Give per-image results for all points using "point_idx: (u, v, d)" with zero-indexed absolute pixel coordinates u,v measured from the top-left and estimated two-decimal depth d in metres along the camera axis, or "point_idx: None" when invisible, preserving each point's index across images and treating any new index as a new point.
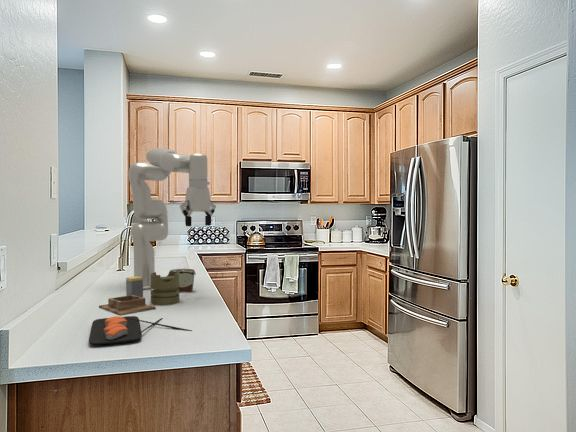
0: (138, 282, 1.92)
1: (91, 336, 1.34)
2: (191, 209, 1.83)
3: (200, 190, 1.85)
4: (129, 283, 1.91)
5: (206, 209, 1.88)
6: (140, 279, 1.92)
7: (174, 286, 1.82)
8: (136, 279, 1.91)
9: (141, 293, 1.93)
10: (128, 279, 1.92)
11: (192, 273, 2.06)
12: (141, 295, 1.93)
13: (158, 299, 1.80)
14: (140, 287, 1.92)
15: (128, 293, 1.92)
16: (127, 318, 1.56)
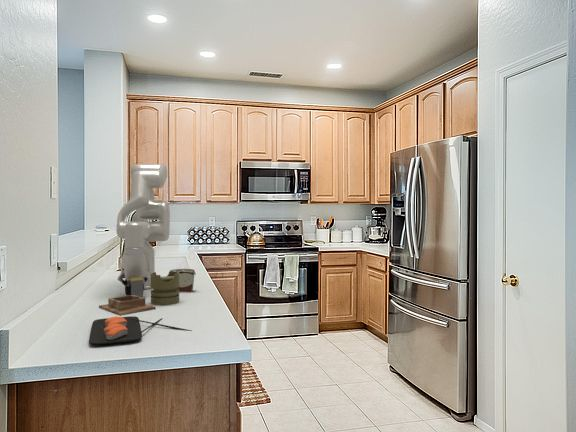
0: (138, 282, 1.92)
1: (91, 336, 1.34)
2: (126, 277, 1.88)
3: (135, 258, 1.90)
4: None
5: (142, 275, 1.93)
6: (140, 279, 1.92)
7: (174, 286, 1.82)
8: (136, 279, 1.91)
9: (141, 293, 1.93)
10: None
11: (192, 273, 2.06)
12: (141, 295, 1.93)
13: (158, 299, 1.80)
14: (140, 287, 1.92)
15: None
16: (127, 318, 1.56)
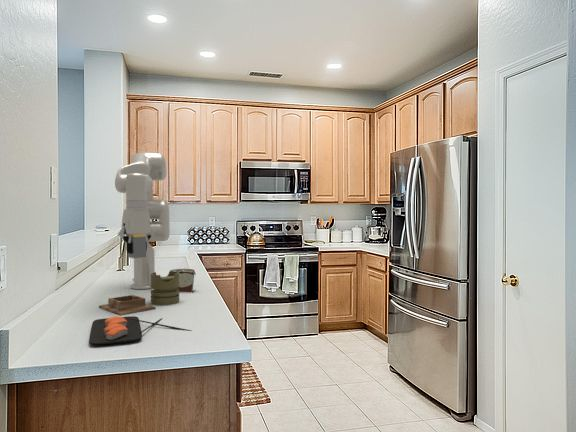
0: (141, 238, 1.74)
1: (91, 336, 1.34)
2: (127, 233, 1.71)
3: (137, 212, 1.73)
4: None
5: (145, 232, 1.75)
6: (143, 235, 1.74)
7: (174, 286, 1.82)
8: (139, 235, 1.73)
9: (144, 251, 1.75)
10: None
11: (192, 273, 2.06)
12: (144, 253, 1.75)
13: (158, 299, 1.80)
14: (143, 244, 1.74)
15: None
16: (127, 318, 1.56)
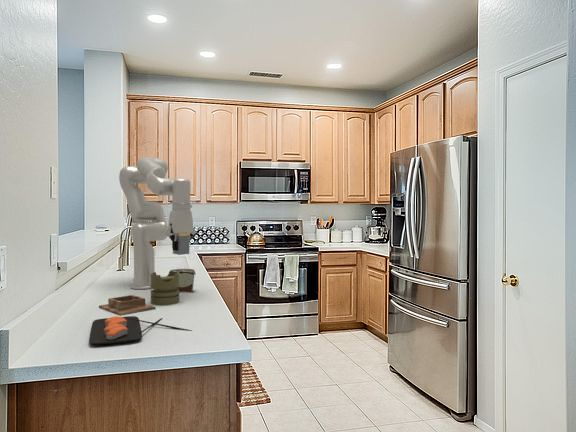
0: (186, 237, 1.94)
1: (91, 336, 1.34)
2: (174, 232, 1.91)
3: (183, 213, 1.93)
4: None
5: (188, 231, 1.96)
6: (187, 234, 1.94)
7: (174, 286, 1.82)
8: (184, 234, 1.93)
9: (188, 248, 1.95)
10: None
11: (192, 273, 2.06)
12: (188, 250, 1.95)
13: (158, 299, 1.80)
14: (187, 242, 1.95)
15: None
16: (127, 318, 1.56)
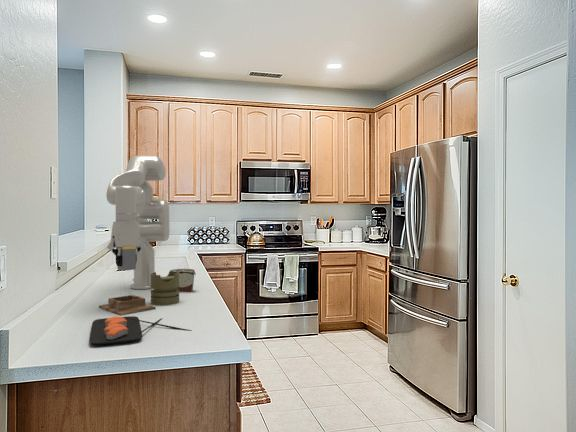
0: (131, 250, 1.73)
1: (91, 336, 1.34)
2: (116, 245, 1.70)
3: (127, 224, 1.72)
4: None
5: (135, 244, 1.75)
6: (133, 248, 1.73)
7: (174, 286, 1.82)
8: (128, 247, 1.72)
9: (134, 263, 1.74)
10: None
11: (192, 273, 2.06)
12: (134, 265, 1.74)
13: (158, 299, 1.80)
14: (133, 256, 1.73)
15: None
16: (127, 318, 1.56)
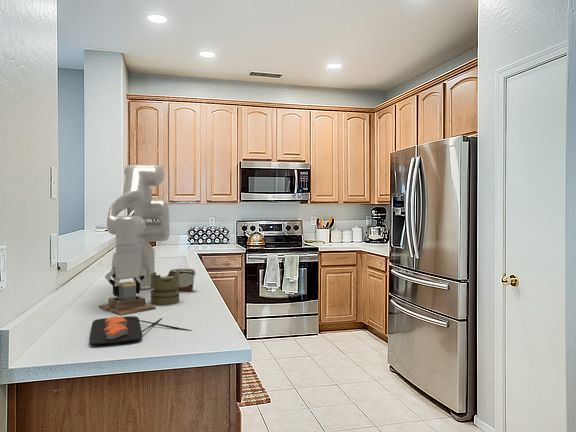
0: (131, 288, 1.73)
1: (91, 336, 1.34)
2: (117, 277, 1.70)
3: (127, 256, 1.72)
4: (120, 289, 1.73)
5: (135, 275, 1.75)
6: (133, 285, 1.74)
7: (174, 286, 1.82)
8: (129, 285, 1.73)
9: None
10: (120, 285, 1.73)
11: (192, 273, 2.06)
12: None
13: (158, 299, 1.80)
14: (133, 294, 1.74)
15: (120, 300, 1.73)
16: (127, 318, 1.56)
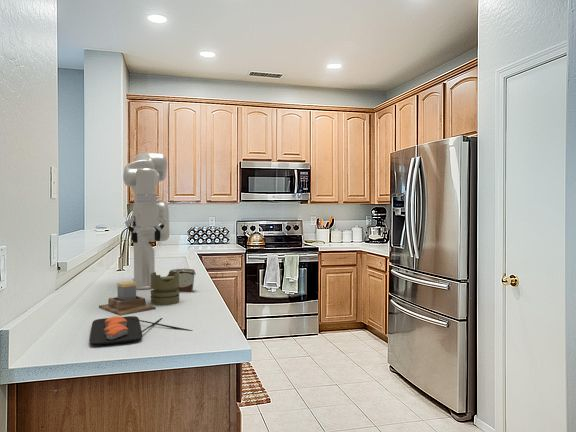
0: (131, 288, 1.73)
1: (91, 336, 1.34)
2: (137, 225, 1.78)
3: (147, 205, 1.80)
4: (120, 289, 1.73)
5: (154, 225, 1.83)
6: (133, 285, 1.74)
7: (174, 286, 1.82)
8: (129, 285, 1.73)
9: None
10: (120, 285, 1.73)
11: (192, 273, 2.06)
12: None
13: (158, 299, 1.80)
14: (133, 294, 1.74)
15: (120, 300, 1.73)
16: (127, 318, 1.56)
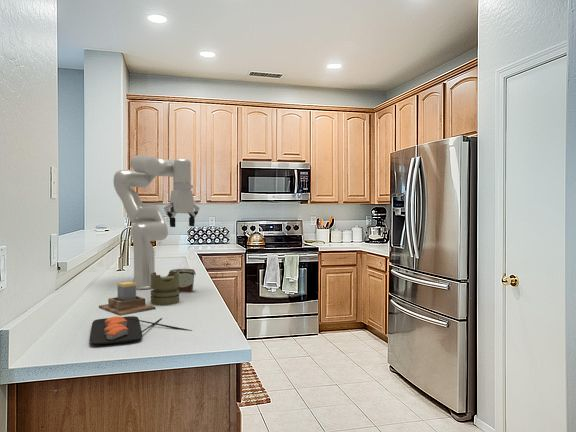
0: (131, 288, 1.73)
1: (91, 336, 1.34)
2: (175, 211, 1.95)
3: (183, 193, 1.97)
4: (120, 289, 1.73)
5: (189, 211, 1.99)
6: (133, 285, 1.74)
7: (174, 286, 1.82)
8: (129, 285, 1.73)
9: None
10: (120, 285, 1.73)
11: (192, 273, 2.06)
12: None
13: (158, 299, 1.80)
14: (133, 294, 1.74)
15: (120, 300, 1.73)
16: (127, 318, 1.56)
